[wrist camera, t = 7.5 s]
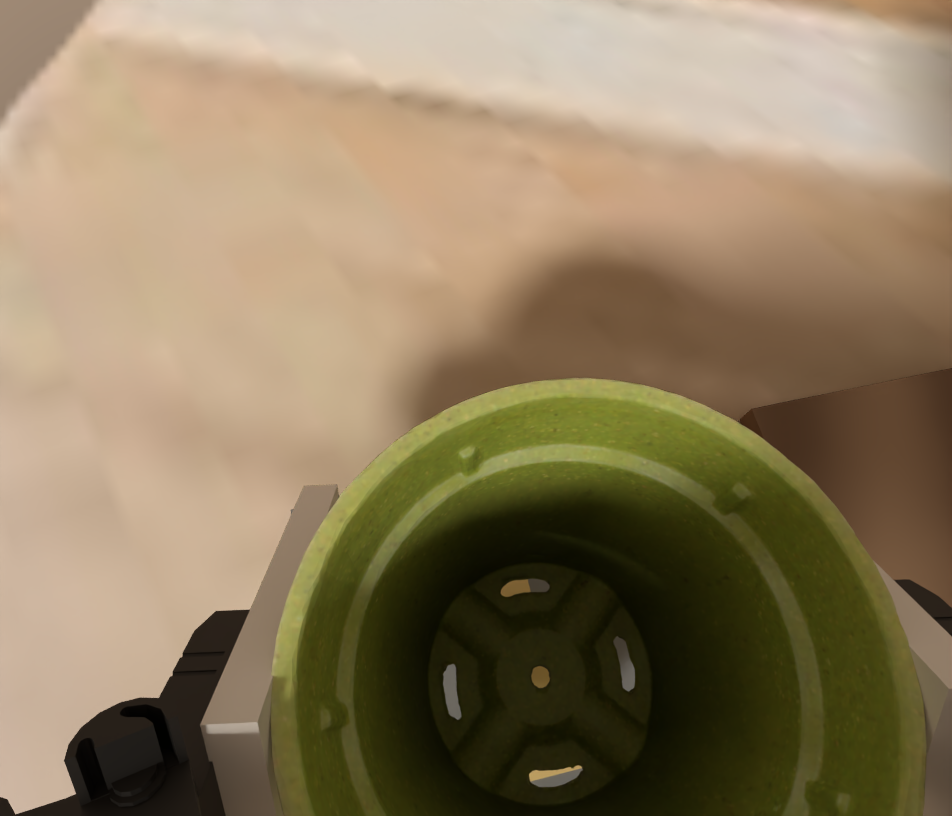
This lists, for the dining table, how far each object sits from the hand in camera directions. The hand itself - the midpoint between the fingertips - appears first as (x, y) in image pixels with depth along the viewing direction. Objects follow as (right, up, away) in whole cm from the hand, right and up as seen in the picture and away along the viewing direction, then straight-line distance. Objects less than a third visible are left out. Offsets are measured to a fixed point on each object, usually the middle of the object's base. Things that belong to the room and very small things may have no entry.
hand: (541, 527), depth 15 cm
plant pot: (0, -4, +2) cm, 5 cm away
